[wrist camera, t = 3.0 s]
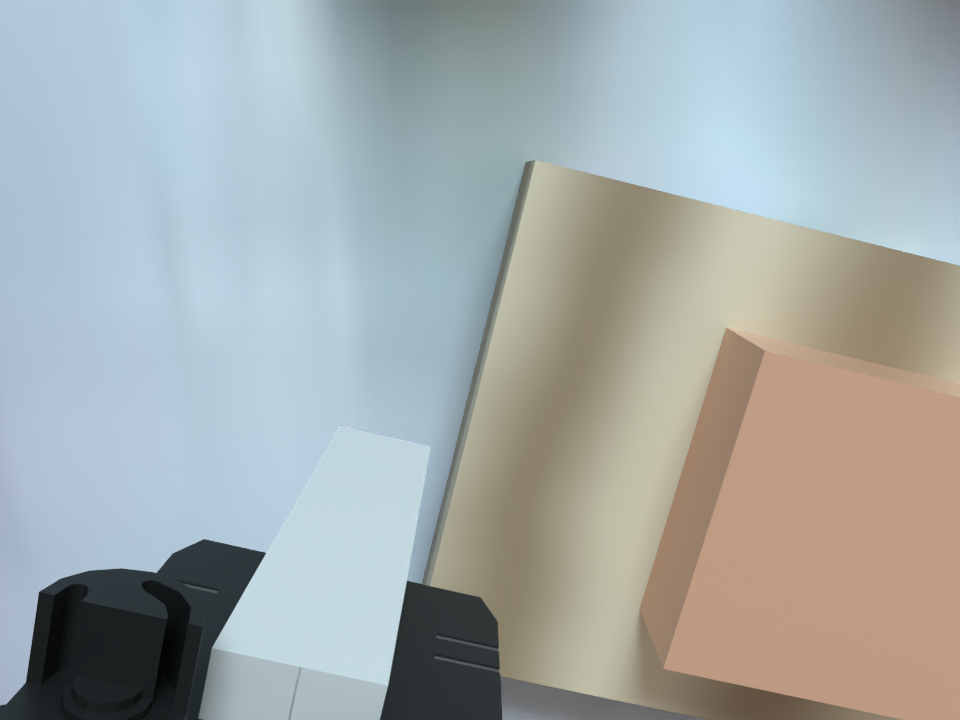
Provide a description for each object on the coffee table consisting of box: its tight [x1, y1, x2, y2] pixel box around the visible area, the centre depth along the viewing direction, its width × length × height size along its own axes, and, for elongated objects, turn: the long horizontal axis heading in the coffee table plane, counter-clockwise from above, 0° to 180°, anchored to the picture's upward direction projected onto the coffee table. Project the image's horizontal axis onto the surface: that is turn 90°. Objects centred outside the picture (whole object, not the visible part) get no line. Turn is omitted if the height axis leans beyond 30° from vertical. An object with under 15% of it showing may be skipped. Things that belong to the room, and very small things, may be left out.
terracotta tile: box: [640, 328, 960, 720], centre depth 18 cm, size 8×7×2 cm
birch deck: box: [422, 160, 960, 720], centre depth 21 cm, size 16×12×3 cm
